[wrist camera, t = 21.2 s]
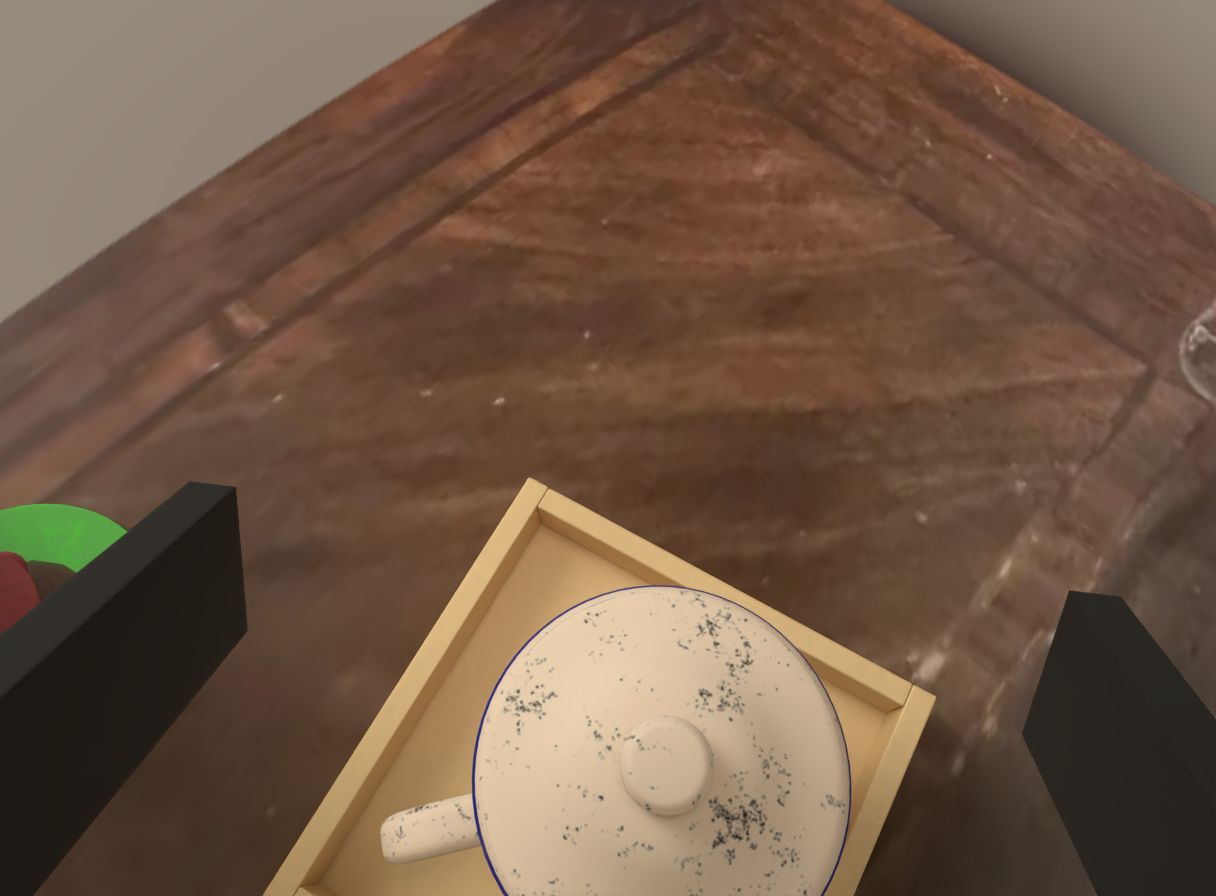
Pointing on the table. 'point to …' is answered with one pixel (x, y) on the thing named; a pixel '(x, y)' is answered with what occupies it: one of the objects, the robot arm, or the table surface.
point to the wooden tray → (476, 658)
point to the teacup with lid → (649, 759)
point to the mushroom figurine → (46, 552)
